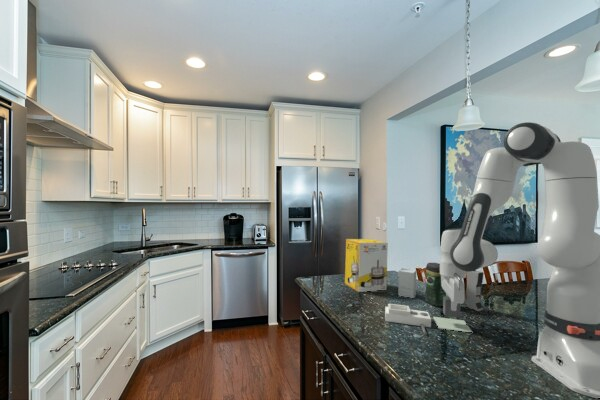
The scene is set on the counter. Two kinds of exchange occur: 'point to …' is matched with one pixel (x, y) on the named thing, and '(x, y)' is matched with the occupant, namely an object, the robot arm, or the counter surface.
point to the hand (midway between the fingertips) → (451, 307)
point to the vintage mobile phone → (474, 290)
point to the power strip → (407, 316)
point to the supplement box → (407, 283)
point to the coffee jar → (434, 285)
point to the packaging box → (366, 264)
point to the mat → (452, 324)
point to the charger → (447, 310)
